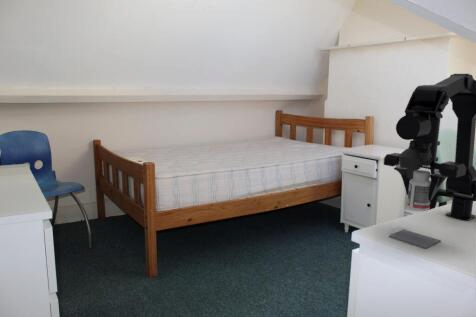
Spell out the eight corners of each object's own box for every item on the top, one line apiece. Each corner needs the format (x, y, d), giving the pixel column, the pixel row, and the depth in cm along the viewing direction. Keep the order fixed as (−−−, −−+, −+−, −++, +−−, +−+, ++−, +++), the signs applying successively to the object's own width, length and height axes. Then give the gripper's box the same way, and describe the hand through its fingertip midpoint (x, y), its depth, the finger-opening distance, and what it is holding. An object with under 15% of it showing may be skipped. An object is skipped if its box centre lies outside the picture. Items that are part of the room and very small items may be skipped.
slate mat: (404, 230, 114) (404, 229, 114) (440, 241, 107) (440, 240, 106) (388, 236, 109) (388, 235, 109) (425, 249, 101) (426, 247, 101)
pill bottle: (433, 209, 106) (438, 172, 104) (421, 213, 103) (425, 174, 101) (414, 204, 110) (418, 168, 108) (402, 207, 107) (406, 170, 105)
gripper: (374, 134, 105) (369, 194, 108) (449, 144, 91) (441, 212, 94) (397, 132, 112) (392, 188, 115) (470, 140, 98) (462, 204, 101)
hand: (419, 197), depth 106 cm, fingers closed on pill bottle, 5 cm apart
